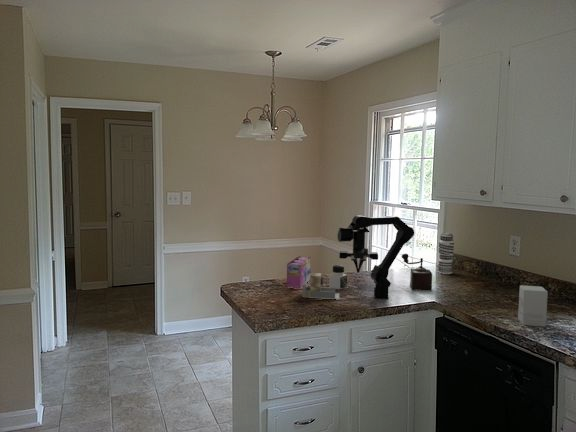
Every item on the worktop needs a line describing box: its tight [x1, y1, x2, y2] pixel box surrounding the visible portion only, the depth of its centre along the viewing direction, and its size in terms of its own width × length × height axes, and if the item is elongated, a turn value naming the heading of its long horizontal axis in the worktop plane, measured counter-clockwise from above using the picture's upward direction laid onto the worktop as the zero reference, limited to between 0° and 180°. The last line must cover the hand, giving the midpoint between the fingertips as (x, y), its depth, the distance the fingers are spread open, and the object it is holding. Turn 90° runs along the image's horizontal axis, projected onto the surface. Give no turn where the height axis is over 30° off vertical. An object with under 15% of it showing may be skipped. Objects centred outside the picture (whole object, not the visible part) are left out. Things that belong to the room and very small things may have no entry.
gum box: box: [286, 256, 312, 289], centre depth 258 cm, size 24×8×14 cm, turn 163°
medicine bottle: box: [328, 264, 348, 290], centre depth 251 cm, size 7×7×12 cm
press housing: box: [301, 281, 340, 301], centre depth 233 cm, size 18×10×7 cm, turn 83°
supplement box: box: [517, 285, 549, 328], centre depth 196 cm, size 9×9×15 cm
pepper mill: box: [401, 253, 433, 291], centre depth 253 cm, size 16×11×18 cm
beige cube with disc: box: [309, 272, 324, 291], centre depth 233 cm, size 6×6×10 cm
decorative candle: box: [437, 232, 455, 275], centre depth 291 cm, size 9×9×25 cm
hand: (358, 272), depth 230 cm, fingers closed
